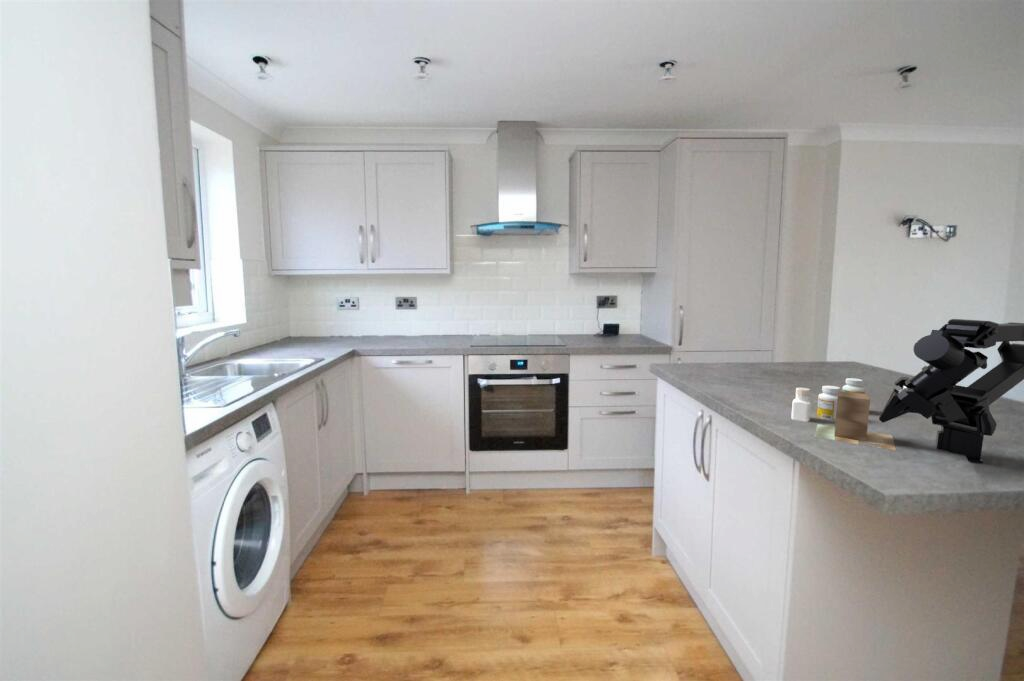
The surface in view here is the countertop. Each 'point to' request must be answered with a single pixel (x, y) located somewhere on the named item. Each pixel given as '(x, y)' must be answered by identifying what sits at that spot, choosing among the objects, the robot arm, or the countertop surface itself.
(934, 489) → the countertop surface
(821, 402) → the supplement bottle
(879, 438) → the trap board
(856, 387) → the supplement bottle
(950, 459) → the countertop surface
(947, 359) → the robot arm
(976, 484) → the countertop surface
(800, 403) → the white square pill bottle
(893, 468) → the countertop surface
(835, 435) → the walnut block
